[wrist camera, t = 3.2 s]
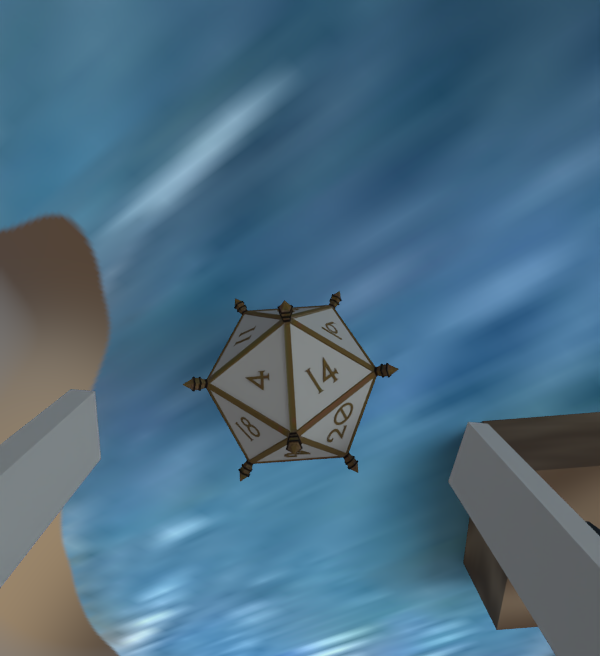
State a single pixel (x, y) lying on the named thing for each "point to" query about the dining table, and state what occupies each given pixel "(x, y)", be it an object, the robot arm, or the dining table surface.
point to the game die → (292, 384)
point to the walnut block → (561, 475)
